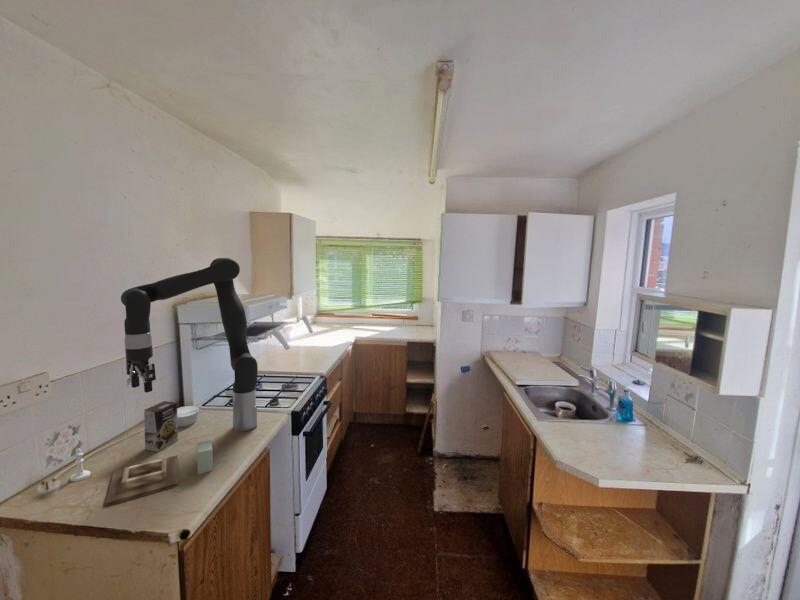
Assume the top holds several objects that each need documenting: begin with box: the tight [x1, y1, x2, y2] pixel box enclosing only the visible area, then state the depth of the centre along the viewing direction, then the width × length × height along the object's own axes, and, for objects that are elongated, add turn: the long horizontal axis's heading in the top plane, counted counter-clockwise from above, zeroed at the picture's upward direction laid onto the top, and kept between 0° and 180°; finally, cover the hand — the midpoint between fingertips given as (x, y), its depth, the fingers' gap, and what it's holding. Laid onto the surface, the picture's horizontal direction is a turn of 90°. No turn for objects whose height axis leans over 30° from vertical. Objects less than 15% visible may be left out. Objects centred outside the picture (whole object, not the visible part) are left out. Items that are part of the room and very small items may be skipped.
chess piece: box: [69, 447, 91, 482], centre depth 110 cm, size 5×5×10 cm
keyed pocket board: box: [105, 454, 179, 507], centre depth 111 cm, size 18×18×4 cm
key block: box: [196, 439, 214, 475], centre depth 119 cm, size 4×7×8 cm, turn 34°
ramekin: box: [177, 405, 200, 428], centre depth 150 cm, size 11×11×5 cm
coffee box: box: [143, 400, 179, 453], centre depth 130 cm, size 9×6×16 cm
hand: (141, 389), depth 119 cm, fingers open, 8 cm apart
